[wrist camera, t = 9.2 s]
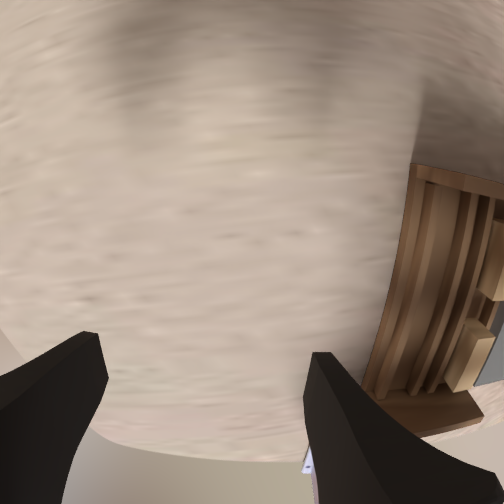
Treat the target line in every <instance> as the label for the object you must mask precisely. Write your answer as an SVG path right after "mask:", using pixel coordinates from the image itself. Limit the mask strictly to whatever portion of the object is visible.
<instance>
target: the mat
mask: <svg viewBox="0 0 504 504" xmlns="http://www.w3.org/2000/svg"><path fill="white" fill-rule="evenodd" d="M489 331H490V332H491V333H492V334H493V335H494V336H495V337H496V338H495V340H494V342H493V345H492V347H491V349H490V351H489V353H488V356H487V358H486V360H485V362H484V364H483V366H482V368H481V370H480V372H479V374H478V376H477V378H476V380H475V382H474V384H473V386H474V387H476V386H480V385H484V384H489V383H493V382H497V381H500V380H504V301H500V303H499V306H498V309H497V311H496V314H495V317H494V320H493V322H492V325H491V327H490V330H489Z"/></svg>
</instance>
